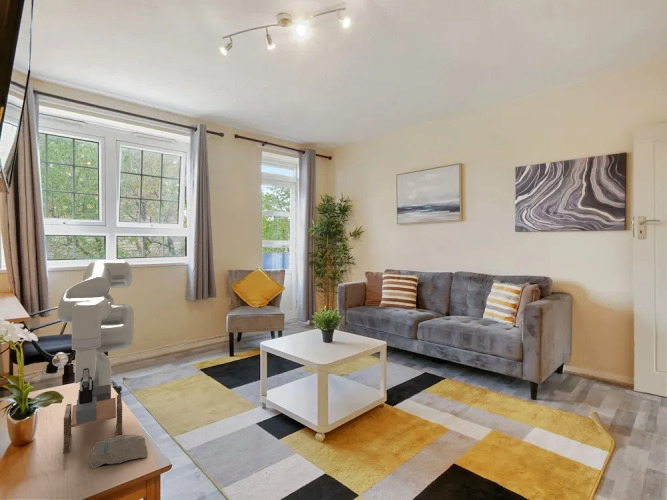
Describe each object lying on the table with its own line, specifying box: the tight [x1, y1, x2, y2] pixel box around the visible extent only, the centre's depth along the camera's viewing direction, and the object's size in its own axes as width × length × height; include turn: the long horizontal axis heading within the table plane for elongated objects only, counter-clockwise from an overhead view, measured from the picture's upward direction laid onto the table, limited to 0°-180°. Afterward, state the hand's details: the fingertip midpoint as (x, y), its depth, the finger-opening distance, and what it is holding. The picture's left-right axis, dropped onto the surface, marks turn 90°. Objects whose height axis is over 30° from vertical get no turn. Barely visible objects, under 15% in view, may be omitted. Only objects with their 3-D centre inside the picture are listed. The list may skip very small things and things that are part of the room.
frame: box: [62, 394, 124, 454], centre depth 113 cm, size 10×15×10 cm
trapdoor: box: [71, 383, 117, 429], centre depth 116 cm, size 14×12×3 cm
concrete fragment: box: [90, 434, 148, 469], centre depth 103 cm, size 7×14×6 cm, turn 110°
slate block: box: [76, 396, 96, 425], centre depth 110 cm, size 5×5×5 cm
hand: (86, 396), depth 110 cm, fingers open, 9 cm apart
